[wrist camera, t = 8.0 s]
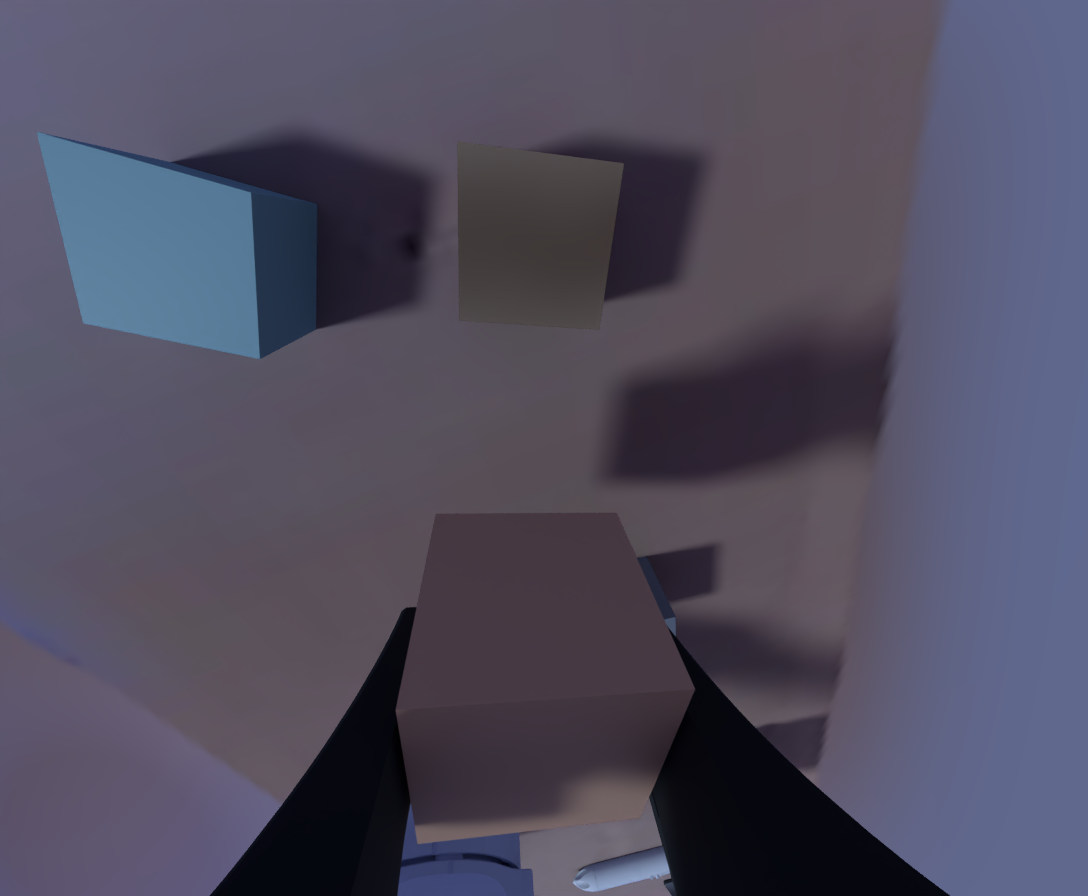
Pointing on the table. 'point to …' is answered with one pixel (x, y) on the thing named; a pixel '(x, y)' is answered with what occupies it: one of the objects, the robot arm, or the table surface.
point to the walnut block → (534, 236)
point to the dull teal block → (183, 250)
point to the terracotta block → (535, 678)
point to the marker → (623, 870)
